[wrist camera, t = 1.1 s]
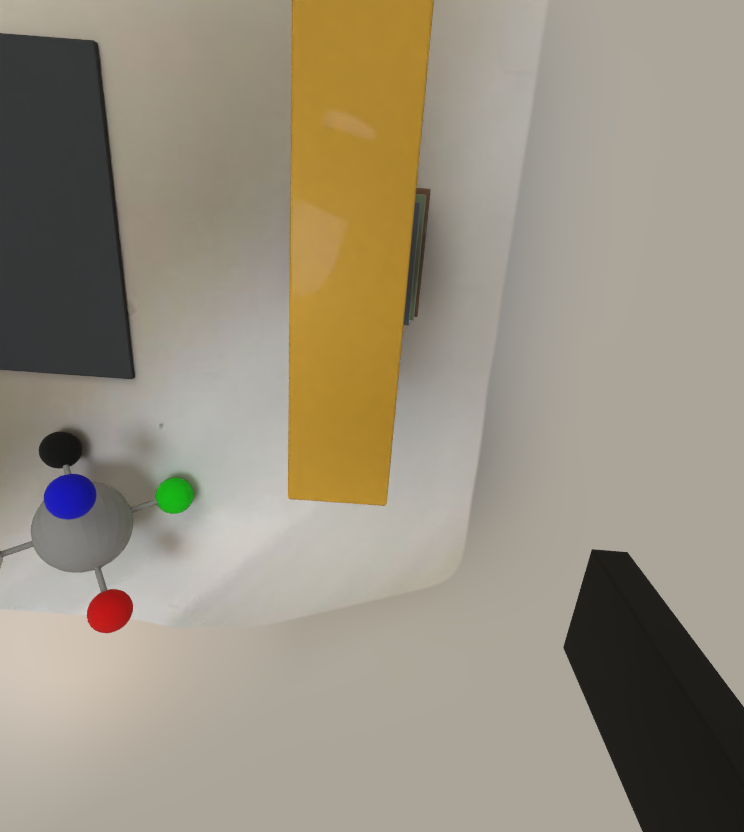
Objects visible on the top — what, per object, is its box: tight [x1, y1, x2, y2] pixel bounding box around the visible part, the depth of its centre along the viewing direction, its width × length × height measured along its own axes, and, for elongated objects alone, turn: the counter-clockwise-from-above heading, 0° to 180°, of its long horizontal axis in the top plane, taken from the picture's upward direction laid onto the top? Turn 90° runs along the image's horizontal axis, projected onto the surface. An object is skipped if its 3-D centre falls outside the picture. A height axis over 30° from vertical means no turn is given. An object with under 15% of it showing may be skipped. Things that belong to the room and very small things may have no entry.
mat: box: [0, 33, 134, 379], centre depth 32 cm, size 20×12×1 cm, turn 176°
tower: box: [403, 188, 430, 325], centre depth 26 cm, size 7×7×12 cm
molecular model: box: [0, 432, 193, 633], centre depth 34 cm, size 11×13×10 cm
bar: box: [288, 0, 434, 506], centre depth 19 cm, size 18×4×4 cm, turn 176°
